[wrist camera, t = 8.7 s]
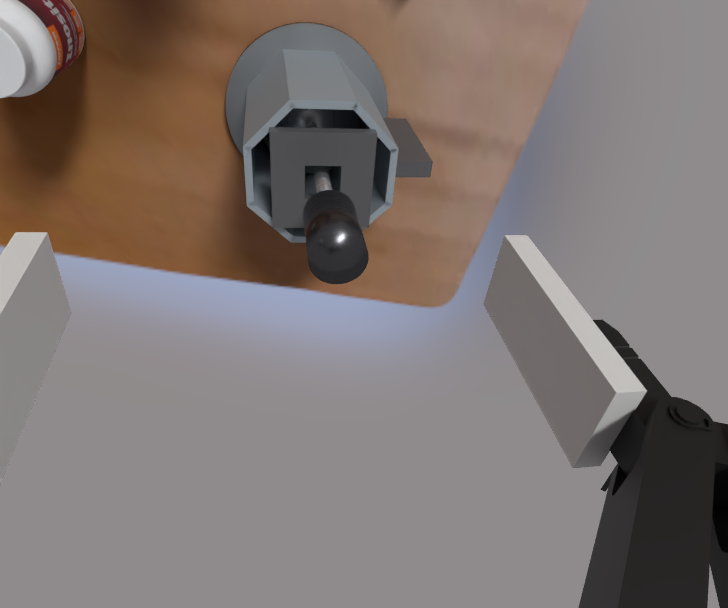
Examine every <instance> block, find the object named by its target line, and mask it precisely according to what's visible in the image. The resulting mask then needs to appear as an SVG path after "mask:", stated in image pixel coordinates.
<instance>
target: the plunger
mask: <svg viewBox="0 0 728 608" xmlns="http://www.w3.org/2000/svg"><path fill="white" fill-rule="evenodd" d="M275 127H294V128H341V129H359V128H360V122H359V115H358V114H357V113H356V112H355V111H354V110H337V109H301V108H293V109H292V110H291V111H290V112H289V113H288V114H287V115H286V116H285V117H284V118H283V119H282V120H281V121H280V122H279V123H278V124H277V125H276V126H275ZM264 140H265V143H266V145H267V147H268V149H269V151H270V134H269V132H268V133H267V134H266V135H265V136H264ZM334 167H336V166H305V173H314V179H315V184H316V190H317V193H316V194H314V195H313V196H312V197H310V199H309V200H308V201H307V202H306V204H305V206H304V209H303V222H304V230H305V238H306V246H307V254H308V262H309V267H310V269H311V271H312V273H313V274H314V275H315V276H316V277H317V278H318V279H320V280H321V281H323V282H326V283H330V284H343V283H347V282H350V281H352V280H354V279H356V278H357V277H358V276H360V275H361V274H362V272H363V271H364V270H365V268H366V266H367V263H368V251H367V247H366V244H365V240H364V237H363V234H362V230H361V227H360V223H359V220H358V216H357V213H356V209H355V206H354V204H353V202H352V200H351V199H350V198H349V197H348V196H347V195H346V194H344V193H342V192H340V191H336V190H332V187H331V183H330V178H329V174H328V170H330V169H332V168H334Z"/></svg>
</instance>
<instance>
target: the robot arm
mask: <svg viewBox="0 0 728 608" xmlns="http://www.w3.org/2000/svg"><path fill="white" fill-rule="evenodd" d="M484 306H485V307H486V309H487V311H488V313H489V315H490V317H491V319H492V321H493V322H494V324H495V326H496V328H497V330H498V332H499V333H500V335H501V337H502V339H503V341H504V343H505V344H506V346H507V348H508V350H509V352H510V354H511V355H512V357H513V359H514V361H515V363H516V365H517V367H518V368H519V370H520V372H521V374H522V376H523V378H524V379H525V381H526V383H527V385H528V387H529V389H530V390H531V392H532V394H533V396H534V398H535V400H536V401H537V403H538V405H539V407H540V409H541V411H542V412H543V414H544V416H545V418H546V420H547V421H548V423H549V425H550V427H551V429H552V431H553V433H554V434H555V436H556V438H557V440H558V442H559V443H560V445H561V447H562V449H563V451H564V453H565V455H566V456H567V458H568V460H569V462H570V464H571V466H572V467H573V468H581V467H593V466H600V465H601V464H602V462H603V461H604V459H605V458H606V456H607V454H608V453H609V451H611V453H612V454H613V456H614V458H615V459H616V461H617V462H618V464H617V465H616V467H615V468H614V470H613V471H612V473H611V474H610V476H609V477H608V479H607V481H606V482H605V484H604V485H603V487H602V488H601V490H603V491H606V490H607V488H608V491H607V495H606V500H605V504H604V508H603V512H602V516H601V520H600V524H599V528H598V532H597V536H596V540H595V544H594V548H593V552H592V556H591V560H590V564H589V568H588V572H587V576H586V580H585V585H584V588H583V592H582V597H581V600H580V604H579V608H707V601H708V584H709V583H708V582H709V565H710V566H711V571H712V575H713V579H714V584H715V588H716V593H717V597H718V602H719V606H720V608H728V424H723V423H718V422H713V420H712V419H711V417H710V416H709V415H708V414H707V413H706V412H705V411H704V410H702V409H701V408H700V407H698V406H697V405H695V404H693V403H691V402H689V401H687V400H683V399H681V398H677V397H671V396H670V395H669V393H668V392H667V391H666V390H665V388H664V387H663V386H662V385H661V384H660V382H659V381H658V380H657V379H656V377H655V376H654V375H653V374H652V372H651V371H650V370H649V369H648V367H647V366H646V365H645V364H644V362H643V361H642V360H641V359H638V355H637V354H636V353H635V352H634V350H633V349H632V348H630V347H629V344H628V343H627V342H626V340H625V339H624V338H623V337H622V335H621V334H620V333H619V332H618V331H617V330H616V329H614V328H613V327H611V326H610V325H609V324H607V323H606V322H605V321H603V320H592V319H591V318H590V316H589V315H588V314H587V312H586V311H585V310H584V309H583V307H582V306H581V305H580V304H579V302H578V301H577V299H576V298H575V297H574V296H573V294H572V293H571V292H570V290H569V289H568V288H567V286H566V285H565V284H564V283H563V282H562V280H561V279H560V277H559V276H558V275H557V273H556V272H555V271H554V270H553V268H552V267H551V266H550V265H549V263H548V262H547V261H546V259H545V258H544V257H543V255H542V254H541V253H540V251H539V250H538V249H537V248H536V246H535V245H534V244H533V242H532V241H531V240H530V239H529V237H528V236H527V235H505V236H504V239H503V242H502V246H501V249H500V252H499V255H498V259H497V262H496V265H495V268H494V272H493V275H492V278H491V282H490V285H489V288H488V291H487V295H486V298H485V301H484ZM70 315H71V310H70V307H69V303H68V300H67V296H66V293H65V290H64V286H63V283H62V280H61V276H60V273H59V270H58V267H57V263H56V260H55V256H54V253H53V250H52V246H51V243H50V239H49V236H48V233H43V232H16V233H15V234H14V236H13V237H12V239H11V240H10V242H9V243H8V245H7V246H6V248H5V249H4V251H3V252H2V254H1V255H0V484H1V481H2V479H3V477H4V474H5V472H6V469H7V467H8V465H9V462H10V460H11V457H12V455H13V452H14V450H15V448H16V445H17V443H18V440H19V438H20V436H21V433H22V430H23V428H24V426H25V423H26V421H27V419H28V416H29V414H30V411H31V409H32V407H33V404H34V402H35V399H36V397H37V394H38V392H39V390H40V387H41V385H42V382H43V380H44V378H45V375H46V373H47V370H48V368H49V366H50V363H51V361H52V358H53V356H54V353H55V351H56V348H57V346H58V344H59V341H60V339H61V336H62V334H63V331H64V329H65V327H66V324H67V322H68V320H69V317H70Z"/></svg>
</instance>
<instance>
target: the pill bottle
mask: <svg viewBox="0 0 728 608" xmlns="http://www.w3.org/2000/svg"><path fill="white" fill-rule="evenodd" d="M84 38H85V34H84V27H83V23H82V20H81V17H80V15H79V13H78V11H77V10H76V8H75V6H74V5H73V4H72V2H71V1H70V0H0V98H5V97H9V96H10V97H24V96H28V95H32V94H34V93H36V92H38V91H40V90H41V89H43V88H44V87H45V86H47V85H48V84H49V83H50V82H51V81H52V80H54V79H55V78H56V77H57V76H58V75H59V74H61V73H62V72H63V71H64V70H65V69H66V68H68V67H69V66H70V65H71V64H72V63H73V62H74V61H75V60H76V59H77V58H78V56H79V55H80V53H81V51H82V49H83V45H84Z"/></svg>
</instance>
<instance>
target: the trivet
mask: <svg viewBox="0 0 728 608" xmlns="http://www.w3.org/2000/svg"><path fill="white" fill-rule="evenodd" d="M283 49H291V50H313V51H335V52H336V53H337V54H338V55H339V57H340V58H341V59H342V60H343V61H344V62H345V64H346V65H347V66H348V67H349V68H350V70H351V71H352V72H353V73H354V74H355V75H356V77H357V78H358V79H359V80H360V81H361V83H362V84H363V85H364V86H365V87H366V88H367V90H368V91H369V93H370V95H371V97H372V99H373V101H374V103H375V105H376V106H377V108H378V110H379V112H380V114H381V116H382V118H387V112H388V103H387V93H386V89H385V84H384V82H383V79H382V76H381V74H380V72H379V70H378V68H377V66H376V64H375V62H374V61H373V59H372V58H371V57H370V55H369V54H368V52H367V51H366V50H365V49H364V48H363V47H362V46H361V45H360V44H359V43H358V42H357V41H355V40H354V39H353V38H352V37H350V36H349V35H347V34H345V33H344V32H342V31H340V30H338V29H335V28H333V27H330V26H327V25H323V24H319V23H311V22H297V23H291V24H286V25H283V26H279V27H276V28H274V29H272V30H270V31H268V32H266V33H264V34H263V35H261V36H260V37H258V38H257V39H255V40H254V41H253V42H252V43H251V44H250V45H249V46H248V47H247V48H246V49H245V51H244V52H243V53H242V54H241V55H240V57H239V59H238V60H237V62H236V64H235V65H234V68H233V70H232V73H231V75H230V78H229V82H228V86H227V92H226V117H227V123H228V127H229V130H230V133H231V136H232V138H233V140H234V143H235V144H236V146H237V148H238V149H239V151H240V152H241V154H242V155H243V139H244V125H245V110H246V96H247V86H248V85H249V84H250V83H251V82H252V81H253V80H254V79H255V78H256V77H257V76H258V75H259V74H260V73H261V71H262V70H263V69H264V68H265V67H266V66H267V65H268V64H269V63H270V62H271V61H272V60H273V59H274V58H275V57H276V56H277V55H278V54H279V53H280V52H281V51H282V50H283ZM243 156H244V155H243Z"/></svg>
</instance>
